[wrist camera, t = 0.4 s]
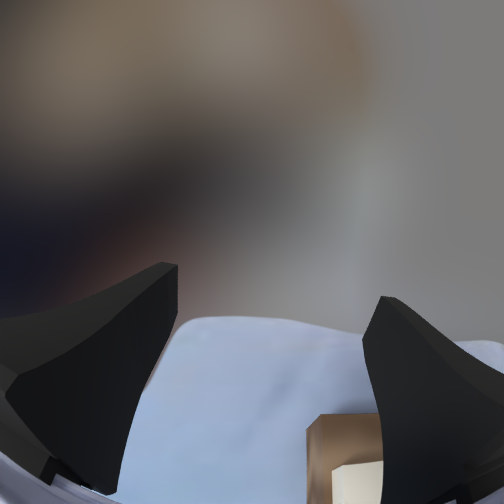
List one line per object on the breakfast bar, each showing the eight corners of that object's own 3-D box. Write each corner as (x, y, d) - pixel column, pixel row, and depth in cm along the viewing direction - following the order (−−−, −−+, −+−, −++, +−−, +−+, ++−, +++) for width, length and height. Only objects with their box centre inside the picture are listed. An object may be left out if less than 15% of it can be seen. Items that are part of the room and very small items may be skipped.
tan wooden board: (433, 539, 10) (460, 533, 8) (303, 574, 10) (321, 581, 7) (418, 422, 23) (438, 406, 21) (306, 429, 23) (320, 414, 21)
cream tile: (388, 513, 12) (402, 510, 11) (332, 524, 12) (344, 523, 11) (384, 464, 16) (397, 458, 15) (331, 470, 16) (342, 465, 15)
